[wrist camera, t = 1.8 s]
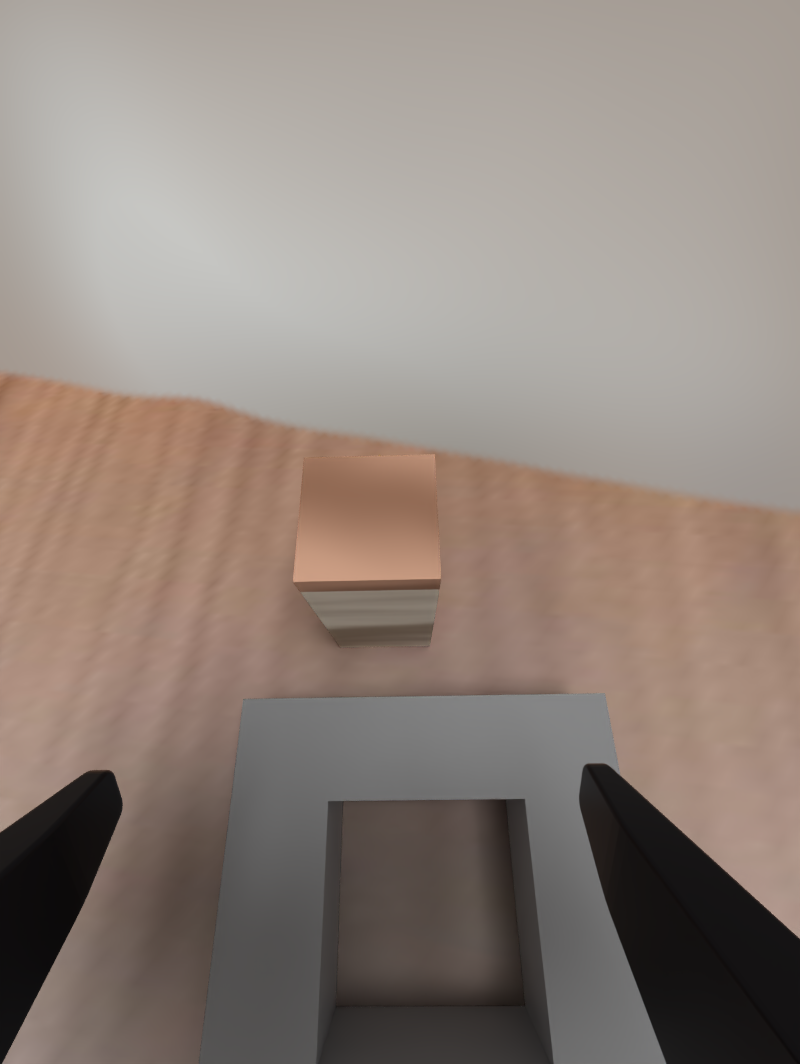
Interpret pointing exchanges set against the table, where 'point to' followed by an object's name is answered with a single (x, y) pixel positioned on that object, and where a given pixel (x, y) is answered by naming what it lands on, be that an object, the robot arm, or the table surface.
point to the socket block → (315, 865)
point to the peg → (370, 548)
